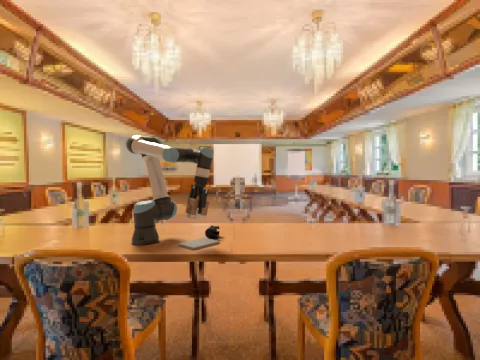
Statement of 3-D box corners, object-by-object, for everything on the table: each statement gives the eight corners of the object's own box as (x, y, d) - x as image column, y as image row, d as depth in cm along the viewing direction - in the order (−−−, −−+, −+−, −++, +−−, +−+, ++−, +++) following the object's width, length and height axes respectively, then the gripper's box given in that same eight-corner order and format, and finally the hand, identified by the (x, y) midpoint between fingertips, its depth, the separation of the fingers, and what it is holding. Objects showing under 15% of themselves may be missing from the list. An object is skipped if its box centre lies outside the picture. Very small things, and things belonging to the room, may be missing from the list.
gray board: (177, 245, 157) (177, 243, 157) (203, 239, 171) (203, 237, 170) (193, 250, 148) (193, 247, 148) (219, 243, 161) (219, 241, 161)
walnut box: (203, 199, 164) (199, 216, 164) (188, 197, 157) (184, 215, 157) (209, 201, 159) (205, 219, 160) (194, 200, 152) (190, 218, 153)
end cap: (208, 235, 181) (208, 225, 181) (219, 235, 180) (219, 225, 180) (205, 239, 171) (204, 228, 171) (216, 239, 170) (216, 228, 170)
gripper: (217, 180, 152) (209, 222, 153) (198, 174, 166) (190, 213, 167) (206, 178, 147) (197, 222, 148) (186, 172, 161) (179, 212, 162)
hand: (193, 217), depth 158 cm, fingers closed on walnut box, 6 cm apart
